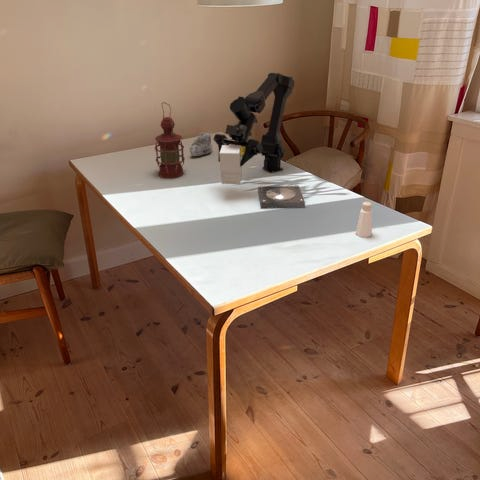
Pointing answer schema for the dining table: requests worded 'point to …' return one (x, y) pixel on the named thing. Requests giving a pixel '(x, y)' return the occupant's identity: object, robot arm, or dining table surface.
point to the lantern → (169, 150)
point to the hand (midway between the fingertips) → (229, 163)
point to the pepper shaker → (365, 221)
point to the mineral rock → (201, 145)
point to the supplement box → (230, 164)
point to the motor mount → (281, 197)
